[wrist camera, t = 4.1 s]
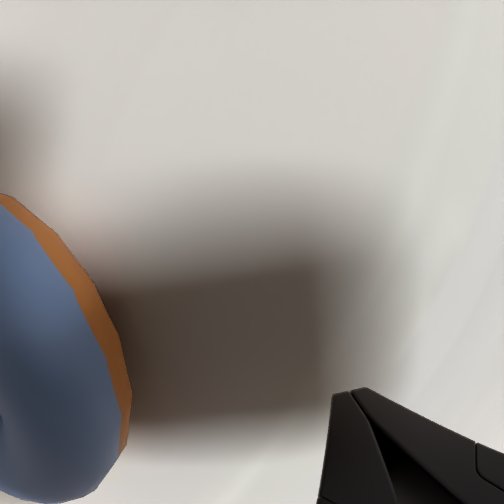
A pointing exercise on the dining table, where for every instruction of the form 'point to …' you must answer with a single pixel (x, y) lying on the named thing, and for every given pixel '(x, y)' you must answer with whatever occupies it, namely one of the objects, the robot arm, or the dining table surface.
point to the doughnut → (55, 368)
